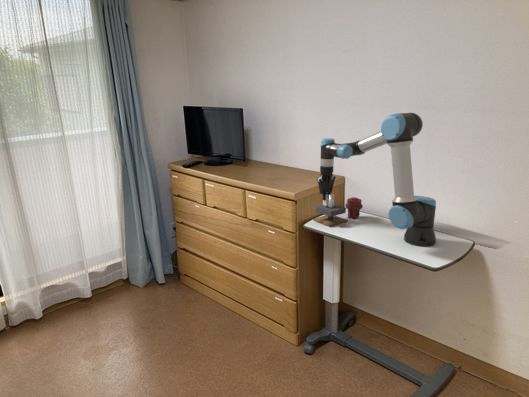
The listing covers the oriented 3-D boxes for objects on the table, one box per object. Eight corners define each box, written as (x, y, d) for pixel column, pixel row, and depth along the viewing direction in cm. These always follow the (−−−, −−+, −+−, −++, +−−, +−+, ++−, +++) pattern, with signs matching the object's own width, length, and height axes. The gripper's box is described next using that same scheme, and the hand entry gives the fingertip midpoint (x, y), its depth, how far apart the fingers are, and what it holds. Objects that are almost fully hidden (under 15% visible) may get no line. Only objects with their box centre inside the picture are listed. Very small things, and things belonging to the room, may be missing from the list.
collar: (345, 212, 233) (345, 207, 232) (330, 216, 227) (330, 211, 226) (331, 208, 243) (331, 203, 242) (316, 211, 236) (316, 206, 235)
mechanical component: (342, 218, 242) (349, 214, 249) (357, 221, 236) (364, 217, 244) (342, 198, 238) (350, 195, 246) (358, 201, 233) (365, 197, 240)
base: (347, 222, 235) (347, 220, 234) (330, 227, 227) (330, 224, 226) (330, 216, 246) (330, 214, 245) (313, 220, 238) (313, 218, 237)
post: (334, 219, 235) (335, 194, 231) (330, 220, 234) (331, 195, 230) (330, 218, 238) (331, 193, 234) (326, 219, 236) (327, 194, 232)
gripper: (330, 163, 238) (329, 201, 244) (313, 165, 230) (312, 205, 237) (339, 165, 232) (337, 204, 238) (323, 168, 224) (321, 208, 231)
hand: (325, 205), depth 237 cm, fingers closed
